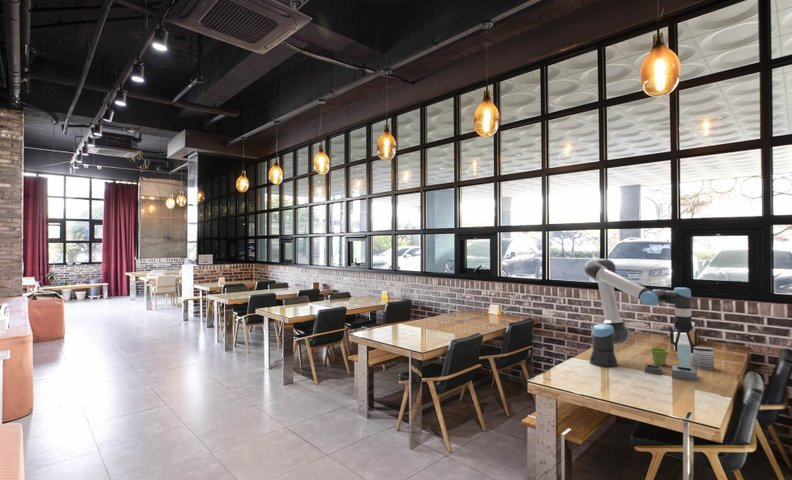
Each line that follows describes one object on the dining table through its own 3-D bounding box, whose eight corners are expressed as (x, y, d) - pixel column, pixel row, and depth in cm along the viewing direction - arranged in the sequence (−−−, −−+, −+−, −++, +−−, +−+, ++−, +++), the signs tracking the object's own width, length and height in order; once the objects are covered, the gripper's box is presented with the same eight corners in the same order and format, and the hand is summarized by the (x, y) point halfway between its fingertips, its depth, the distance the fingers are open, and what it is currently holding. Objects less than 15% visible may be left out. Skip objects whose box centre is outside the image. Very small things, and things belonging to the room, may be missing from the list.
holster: (644, 372, 230) (644, 367, 230) (646, 369, 237) (645, 363, 237) (660, 374, 226) (660, 369, 226) (661, 371, 232) (661, 366, 232)
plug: (679, 366, 222) (678, 343, 222) (679, 364, 226) (678, 341, 226) (689, 368, 219) (688, 344, 220) (689, 366, 223) (688, 343, 223)
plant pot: (671, 366, 241) (671, 352, 241) (654, 366, 243) (653, 351, 243) (664, 362, 250) (664, 348, 250) (647, 361, 252) (647, 347, 252)
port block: (672, 377, 221) (671, 369, 222) (672, 372, 230) (672, 364, 230) (697, 381, 215) (696, 373, 215) (696, 375, 224) (696, 367, 224)
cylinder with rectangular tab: (689, 350, 278) (689, 332, 278) (690, 353, 270) (690, 335, 270) (674, 348, 282) (673, 331, 283) (674, 351, 275) (674, 333, 275)
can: (689, 367, 239) (688, 347, 239) (691, 363, 248) (691, 343, 248) (713, 371, 232) (713, 350, 232) (715, 366, 240) (715, 346, 240)
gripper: (663, 315, 225) (664, 357, 225) (703, 318, 215) (704, 362, 215) (664, 313, 231) (665, 354, 231) (702, 316, 221) (703, 358, 221)
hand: (684, 358), depth 223 cm, fingers closed on plug, 4 cm apart
